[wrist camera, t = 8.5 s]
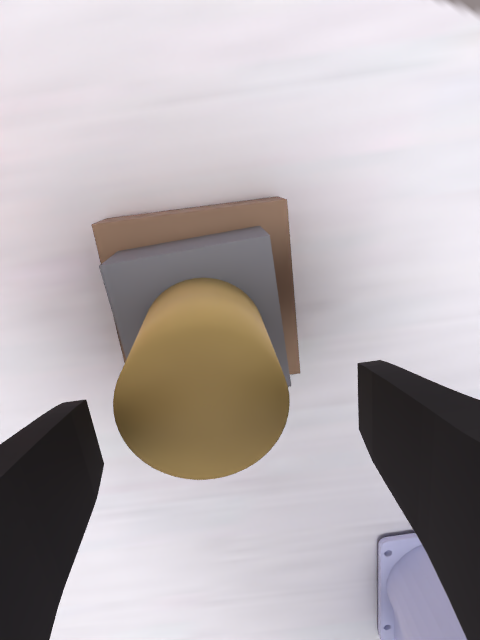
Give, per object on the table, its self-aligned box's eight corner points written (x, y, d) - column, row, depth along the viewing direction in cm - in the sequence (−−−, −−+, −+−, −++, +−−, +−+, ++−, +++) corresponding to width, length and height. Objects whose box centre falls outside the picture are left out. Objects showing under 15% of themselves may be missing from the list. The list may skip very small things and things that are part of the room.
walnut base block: (288, 348, 22) (300, 373, 19) (142, 368, 22) (132, 396, 19) (275, 196, 19) (286, 199, 17) (109, 217, 19) (91, 224, 16)
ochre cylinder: (269, 381, 16) (295, 466, 11) (155, 398, 16) (134, 491, 11) (256, 269, 14) (281, 313, 10) (130, 287, 14) (93, 341, 10)
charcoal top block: (279, 354, 19) (291, 386, 16) (152, 378, 19) (141, 413, 16) (259, 225, 17) (269, 235, 14) (117, 251, 17) (99, 266, 14)
